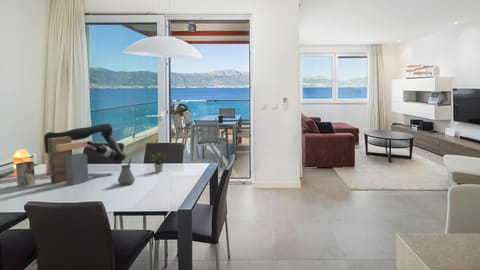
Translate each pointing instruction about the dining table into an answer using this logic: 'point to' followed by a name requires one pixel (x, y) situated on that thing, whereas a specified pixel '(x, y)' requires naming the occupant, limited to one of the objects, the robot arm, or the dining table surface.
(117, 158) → the robot arm
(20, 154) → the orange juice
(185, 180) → the dining table surface
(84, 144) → the block
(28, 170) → the coffee box
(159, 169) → the house plant
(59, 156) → the stand
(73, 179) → the pedestal
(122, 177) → the coffee pot
